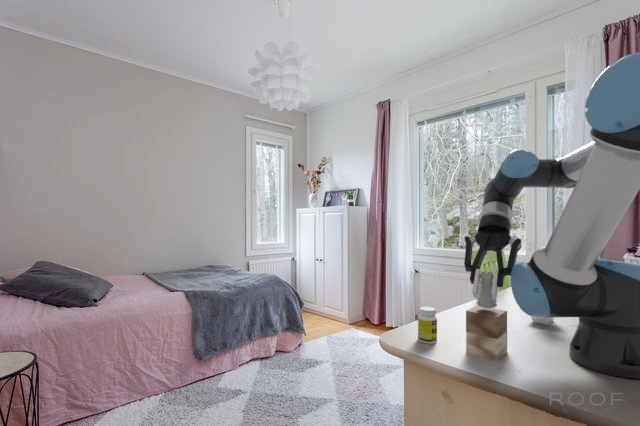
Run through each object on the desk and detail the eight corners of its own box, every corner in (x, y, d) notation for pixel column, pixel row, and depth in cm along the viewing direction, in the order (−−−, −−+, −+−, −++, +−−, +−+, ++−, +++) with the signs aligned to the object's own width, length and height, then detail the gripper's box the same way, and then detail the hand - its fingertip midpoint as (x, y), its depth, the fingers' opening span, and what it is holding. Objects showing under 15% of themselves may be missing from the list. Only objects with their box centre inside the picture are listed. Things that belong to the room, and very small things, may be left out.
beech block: (507, 352, 82) (507, 331, 82) (497, 361, 77) (497, 339, 77) (477, 344, 87) (477, 324, 87) (466, 352, 82) (466, 331, 82)
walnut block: (507, 331, 82) (507, 310, 82) (497, 339, 77) (497, 317, 77) (476, 324, 87) (477, 305, 87) (465, 331, 82) (466, 310, 82)
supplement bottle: (434, 345, 86) (434, 312, 86) (415, 341, 88) (415, 309, 88) (438, 339, 90) (439, 307, 90) (420, 336, 92) (420, 305, 92)
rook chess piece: (499, 308, 80) (500, 274, 80) (479, 307, 81) (479, 273, 81) (494, 303, 84) (494, 271, 84) (474, 302, 85) (474, 270, 85)
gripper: (530, 232, 90) (526, 310, 77) (464, 230, 100) (450, 299, 86) (529, 212, 86) (524, 291, 72) (460, 212, 95) (444, 282, 82)
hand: (484, 295), depth 79 cm, fingers closed on rook chess piece, 3 cm apart
